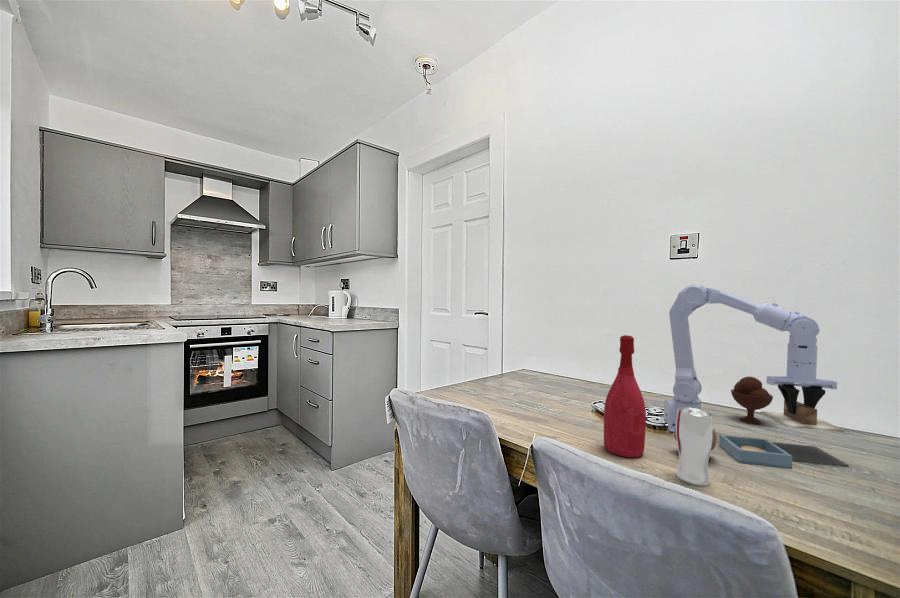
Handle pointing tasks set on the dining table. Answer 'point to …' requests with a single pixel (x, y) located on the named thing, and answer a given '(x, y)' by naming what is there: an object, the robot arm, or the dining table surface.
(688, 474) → the beer glass
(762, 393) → the ice cream bowl
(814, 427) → the lid
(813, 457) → the mat
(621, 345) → the wine bottle
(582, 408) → the dining table surface
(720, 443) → the dish
